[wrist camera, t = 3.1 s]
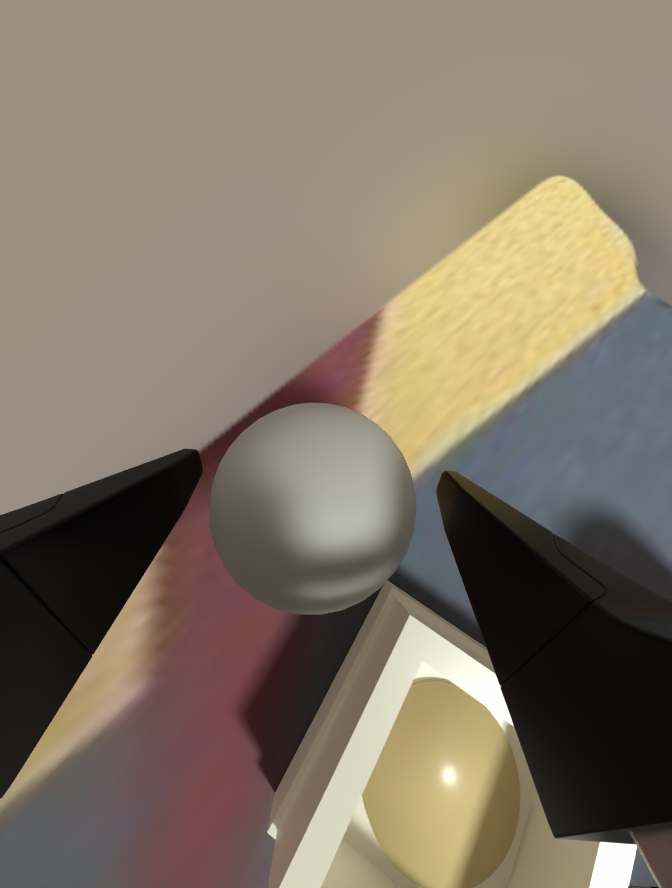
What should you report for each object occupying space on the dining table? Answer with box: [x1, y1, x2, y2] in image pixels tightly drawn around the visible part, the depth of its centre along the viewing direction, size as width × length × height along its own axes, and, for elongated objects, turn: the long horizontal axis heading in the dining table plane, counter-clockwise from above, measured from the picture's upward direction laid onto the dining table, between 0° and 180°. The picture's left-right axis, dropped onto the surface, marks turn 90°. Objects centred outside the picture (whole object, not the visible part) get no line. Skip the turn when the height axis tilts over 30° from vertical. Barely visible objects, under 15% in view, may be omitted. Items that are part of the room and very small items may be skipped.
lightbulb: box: [209, 403, 416, 615], centre depth 10 cm, size 6×6×11 cm
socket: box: [267, 580, 637, 888], centre depth 11 cm, size 11×11×4 cm
